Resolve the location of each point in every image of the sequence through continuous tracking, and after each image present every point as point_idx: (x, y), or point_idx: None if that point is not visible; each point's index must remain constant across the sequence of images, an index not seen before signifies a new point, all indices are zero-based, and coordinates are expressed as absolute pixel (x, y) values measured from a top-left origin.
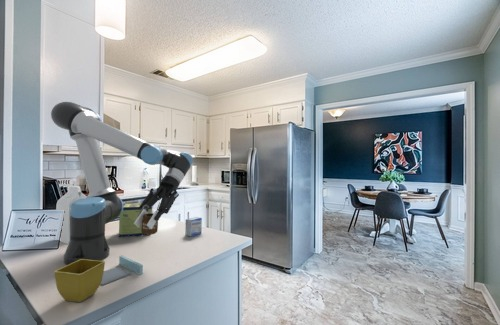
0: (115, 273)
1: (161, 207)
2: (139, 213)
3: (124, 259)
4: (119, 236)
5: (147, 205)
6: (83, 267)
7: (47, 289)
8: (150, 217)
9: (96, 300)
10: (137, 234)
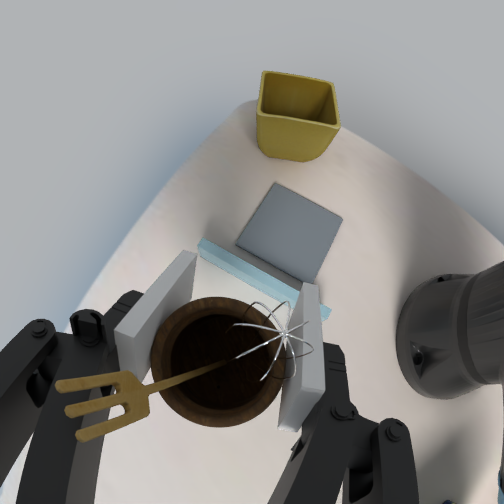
0: (282, 239)
1: (63, 358)
2: (344, 368)
3: (296, 291)
4: (447, 501)
5: (305, 448)
6: (322, 138)
7: (377, 169)
8: (186, 305)
9: (243, 138)
10: None
